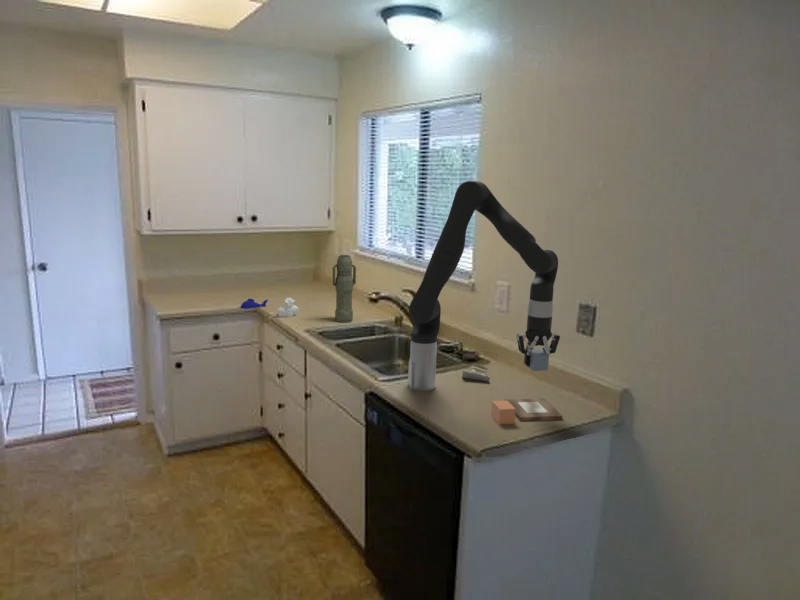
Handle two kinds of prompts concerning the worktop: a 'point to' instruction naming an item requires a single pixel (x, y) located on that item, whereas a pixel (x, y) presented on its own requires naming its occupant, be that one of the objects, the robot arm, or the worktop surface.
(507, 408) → the terracotta brick
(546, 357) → the slate brick
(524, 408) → the plate
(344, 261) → the thermos
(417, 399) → the worktop surface
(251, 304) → the fish toy
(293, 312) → the bust
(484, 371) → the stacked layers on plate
